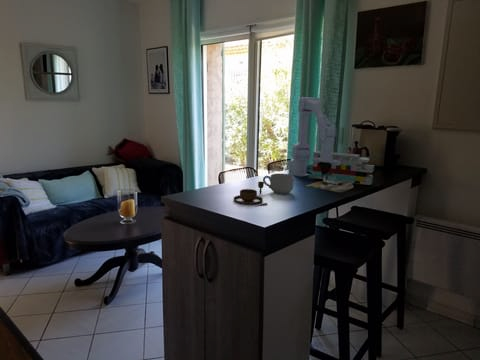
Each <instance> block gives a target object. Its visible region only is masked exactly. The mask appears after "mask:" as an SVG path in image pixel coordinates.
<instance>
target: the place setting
mask: <svg viewBox="0 0 480 360" xmlns="http://www.w3.org/2000/svg"><path fill="white" fill-rule="evenodd" d="M264 185H265V184H264V182H263V181H258V182H257V186H258V189H259V193H258V191H257V190H256V189H249V188H244V189H243V188H242V189H240V190H239V195H236V196H234V197H233V201H234V202H235V204H238V205H244V206H254V208H255V207H256V208H257V207H261V206H263V207H265V206H267V205H268V202H265V203H263V201H264V198H263V197H261V196H259V195H262V191H263V190H262V189H263V188H264ZM258 194H259V195H258ZM239 199H240V200H242V201H240V200H239ZM255 200H258V201H255ZM264 205H265V206H264Z"/></svg>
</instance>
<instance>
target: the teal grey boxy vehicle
mask: <svg viewBox="0 0 480 360" xmlns="http://www.w3.org/2000/svg"><path fill="white" fill-rule="evenodd" d="M340 178H341V176H338V175H332V173H327V174H324V178H323V179H322V182H323V184H324V185H327V182H328V183H330V184H331V183H333V185H337V184H338V185H339V186H340V185H342V180H340Z"/></svg>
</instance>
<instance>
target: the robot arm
mask: <svg viewBox="0 0 480 360" xmlns="http://www.w3.org/2000/svg"><path fill="white" fill-rule="evenodd" d="M297 106H298V107H297V108H298V113H299V119H298V120H299V121H298V133H297V134H298V135H297V142H296V143H295V144H293V145H292V149H291V152H290V155H291V159H290V161H289V165H288V173H287V174H289V175H292V176H294V177H295V176H296V177H301V178H302V177H306V176H309V175H310V174H309V173H307V164H308V160H309V159H310V157H312V156H311V155H312V153H311V146H310V145H309V144H308V134H309V133H308V131H309V121H310V119H309V118H310V114H312V113H313V115H314V116H315V118H316V120H315V123H316V124H317V127H318V129H319V136H320V141H321V145H320V151H321V154H320V158H313V157H312V158H311V162H312V163H313V162H319V163H320V164H319V166H320V169H321V172H322V178H324V174H327V173H328V171H329V169H330V168H331V166H332V164H334V165H340V163H341V161H337V160H332V153H333V150H334V141H335V140H334V139H335V138H336V136H337V135H338V134H337V133H338V129H337V127H336V125H333V124H331V122H330V120H329V118H328V117H327V115H325V114H324V113H323V111H322V109H321V100H320V98H319V97H311V96H310V97H304V96H301V97H300V99H299V100H298V105H297ZM328 162H329V163H328Z"/></svg>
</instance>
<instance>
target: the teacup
mask: <svg viewBox="0 0 480 360" xmlns="http://www.w3.org/2000/svg"><path fill="white" fill-rule="evenodd" d="M266 179H268V180H269V182H270V183H267V182H266ZM262 182H264V185H265V186H267V187H268V188H269V189H270V190H271V191H272V192H273V193H274V194H276V195H281V194H282V195H284V194H285V195H288V194H290V193H291V192H293V189H294V184H295V183H294V182H295V175H289V174H288V173H273V174H271V175H264V176H263V178H262Z"/></svg>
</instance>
